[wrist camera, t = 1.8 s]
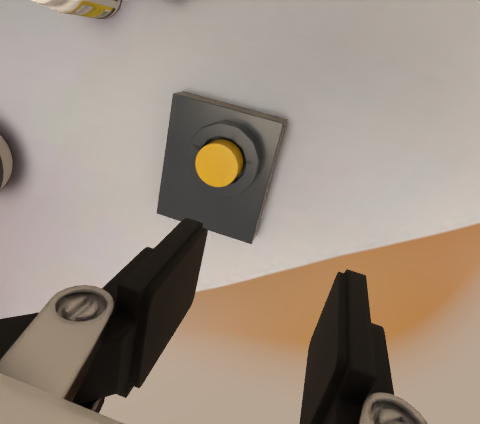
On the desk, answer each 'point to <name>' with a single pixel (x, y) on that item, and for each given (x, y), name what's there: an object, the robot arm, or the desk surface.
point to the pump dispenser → (5, 162)
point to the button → (219, 163)
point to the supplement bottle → (83, 7)
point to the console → (243, 186)
